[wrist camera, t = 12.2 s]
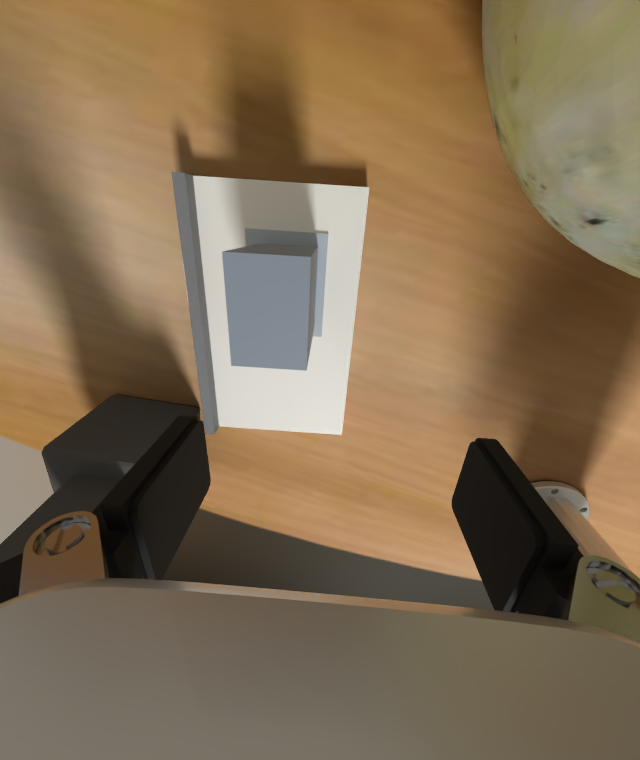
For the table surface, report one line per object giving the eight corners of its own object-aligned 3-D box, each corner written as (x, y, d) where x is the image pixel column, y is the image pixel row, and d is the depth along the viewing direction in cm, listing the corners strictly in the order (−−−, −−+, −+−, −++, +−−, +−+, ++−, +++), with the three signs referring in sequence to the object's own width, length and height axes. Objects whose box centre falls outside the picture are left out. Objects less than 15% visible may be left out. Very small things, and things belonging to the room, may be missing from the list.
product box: (318, 247, 26) (310, 257, 17) (314, 326, 29) (306, 370, 20) (256, 243, 26) (216, 251, 17) (258, 323, 29) (226, 365, 20)
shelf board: (341, 427, 36) (342, 443, 34) (212, 418, 36) (202, 433, 34) (367, 189, 26) (371, 185, 23) (184, 177, 26) (167, 171, 23)
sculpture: (112, 392, 35) (-583, 916, 8) (201, 406, 36) (-196, 947, 9) (123, 460, 40) (-309, 942, 13) (202, 471, 40) (-61, 962, 13)
